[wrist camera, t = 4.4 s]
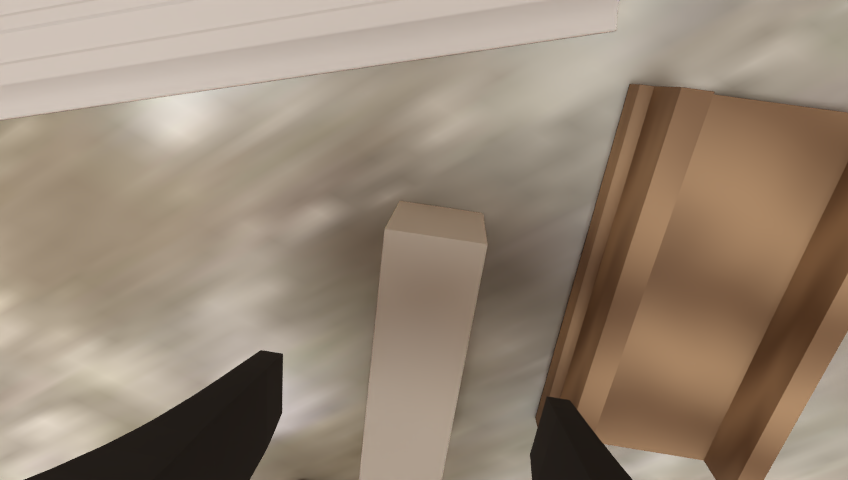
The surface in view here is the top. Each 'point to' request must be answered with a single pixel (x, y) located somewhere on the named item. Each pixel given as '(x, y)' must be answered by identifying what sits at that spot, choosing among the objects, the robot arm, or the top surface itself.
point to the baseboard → (247, 42)
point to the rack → (709, 278)
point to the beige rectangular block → (420, 338)
